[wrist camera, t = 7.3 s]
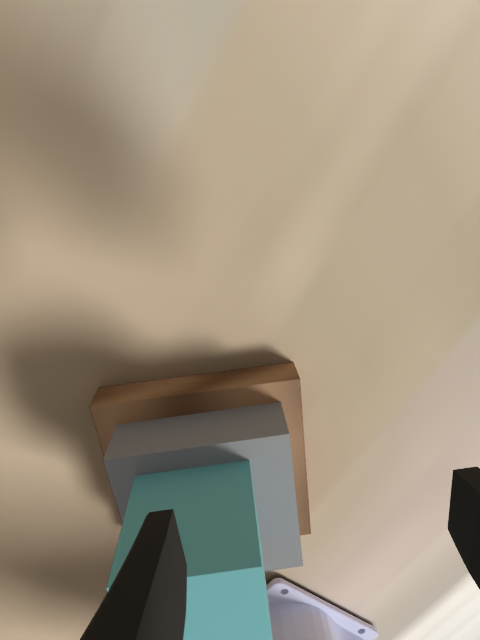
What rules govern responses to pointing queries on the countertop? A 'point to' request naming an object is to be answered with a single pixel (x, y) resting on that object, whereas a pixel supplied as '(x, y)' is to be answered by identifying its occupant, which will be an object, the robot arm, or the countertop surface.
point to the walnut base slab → (211, 408)
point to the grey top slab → (218, 448)
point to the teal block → (209, 547)
